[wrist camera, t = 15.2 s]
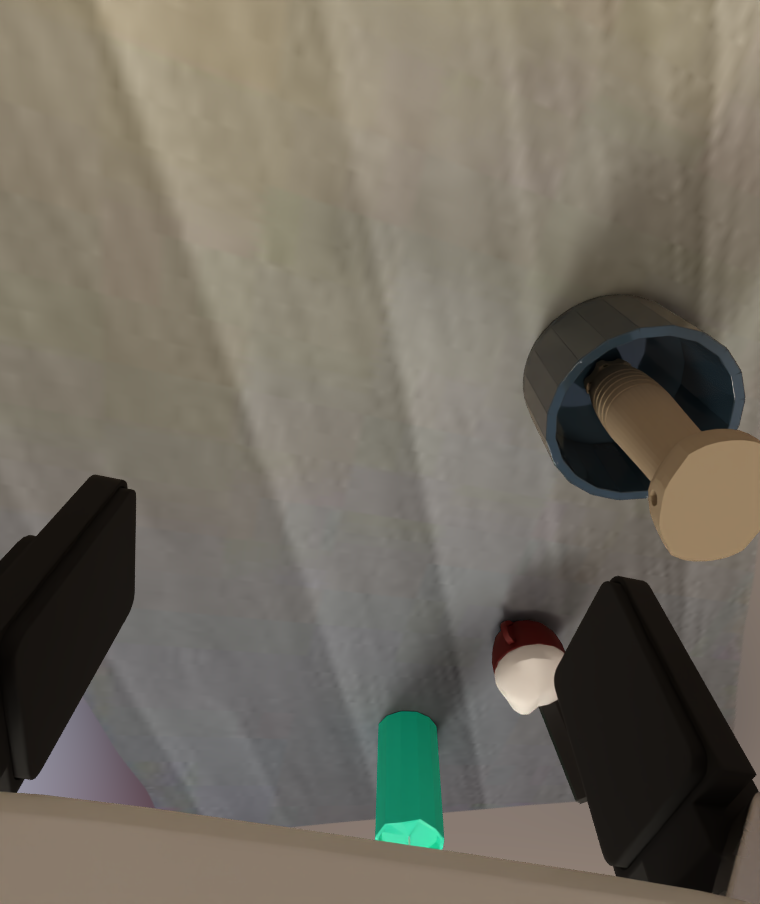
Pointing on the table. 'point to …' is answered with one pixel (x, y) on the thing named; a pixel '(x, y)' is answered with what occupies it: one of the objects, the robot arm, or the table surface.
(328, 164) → the table surface
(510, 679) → the cocoa
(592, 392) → the handle
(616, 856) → the robot arm
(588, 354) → the crock
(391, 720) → the candle
